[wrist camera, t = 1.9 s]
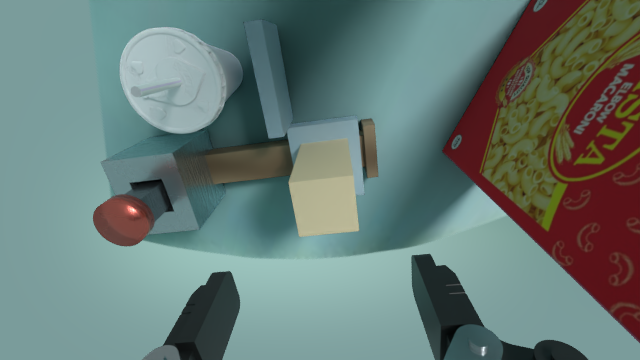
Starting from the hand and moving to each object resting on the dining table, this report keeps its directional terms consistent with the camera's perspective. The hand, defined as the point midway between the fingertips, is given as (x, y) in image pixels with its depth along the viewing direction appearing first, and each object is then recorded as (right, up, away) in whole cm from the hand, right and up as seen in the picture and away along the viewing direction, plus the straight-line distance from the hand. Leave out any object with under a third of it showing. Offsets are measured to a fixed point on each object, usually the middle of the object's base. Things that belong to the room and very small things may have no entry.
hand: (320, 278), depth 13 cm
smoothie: (-9, +14, +14) cm, 22 cm away
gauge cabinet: (-14, +6, +18) cm, 23 cm away
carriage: (0, +11, +15) cm, 18 cm away
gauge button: (-14, +4, +14) cm, 20 cm away
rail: (-3, +7, +17) cm, 19 cm away
